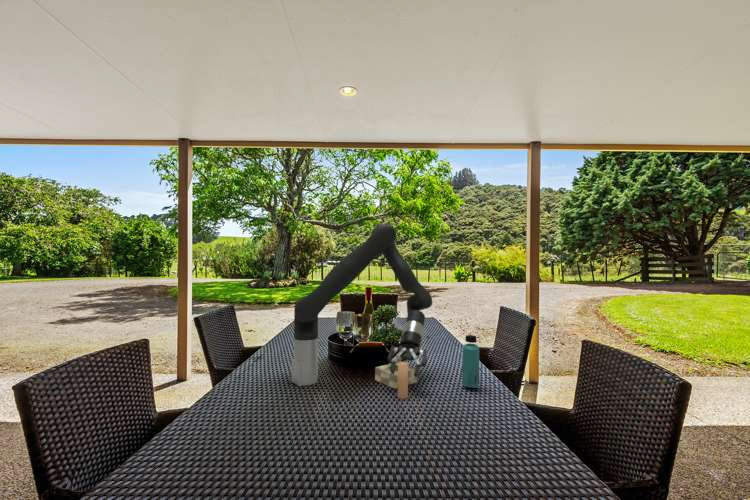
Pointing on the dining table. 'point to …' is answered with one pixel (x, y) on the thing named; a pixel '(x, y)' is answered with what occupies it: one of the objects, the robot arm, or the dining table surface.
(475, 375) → the beverage bottle
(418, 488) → the dining table surface
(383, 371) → the socket
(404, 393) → the peg
